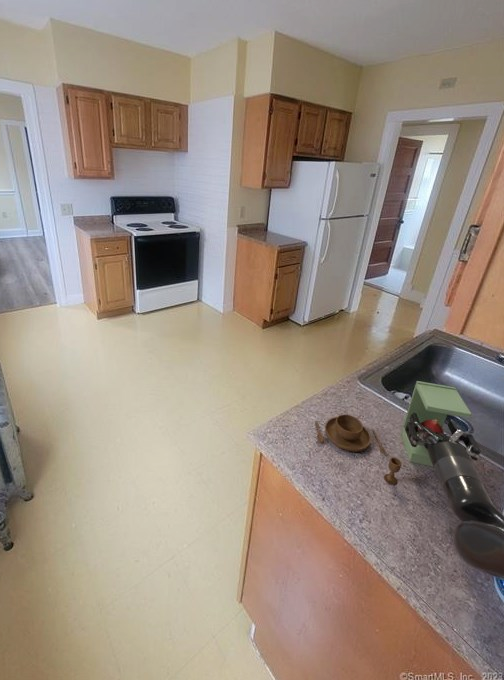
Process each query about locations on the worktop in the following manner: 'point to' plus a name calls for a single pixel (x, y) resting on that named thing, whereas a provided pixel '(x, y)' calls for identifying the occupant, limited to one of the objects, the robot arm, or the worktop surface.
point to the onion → (432, 426)
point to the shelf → (431, 413)
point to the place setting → (355, 439)
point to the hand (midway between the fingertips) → (431, 418)
